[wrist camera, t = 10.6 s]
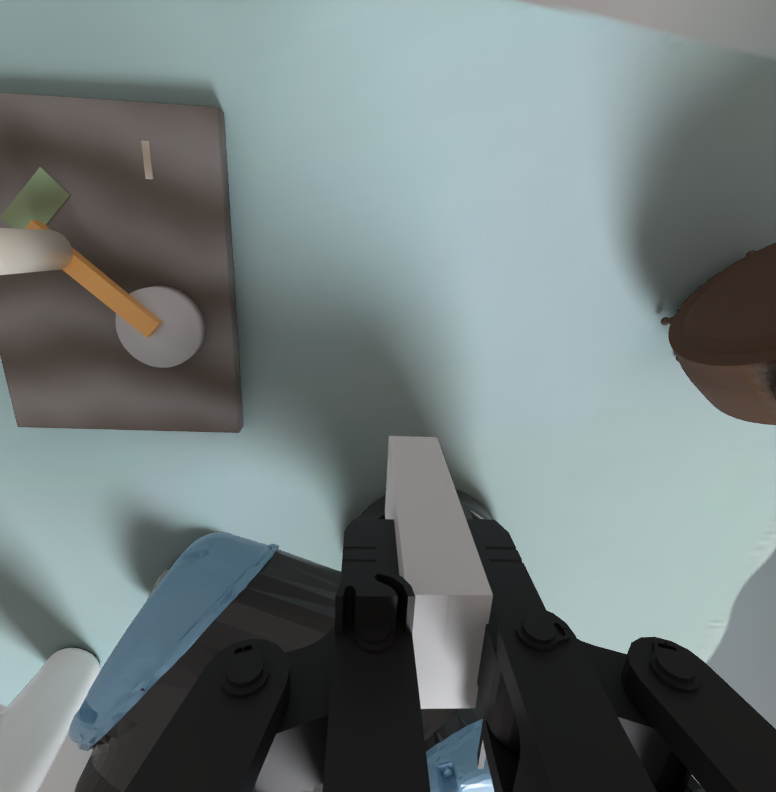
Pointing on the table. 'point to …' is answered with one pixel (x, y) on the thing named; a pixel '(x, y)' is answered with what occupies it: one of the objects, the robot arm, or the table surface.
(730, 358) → the alarm clock
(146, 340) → the dial
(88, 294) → the dial plate
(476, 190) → the table surface
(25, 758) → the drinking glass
